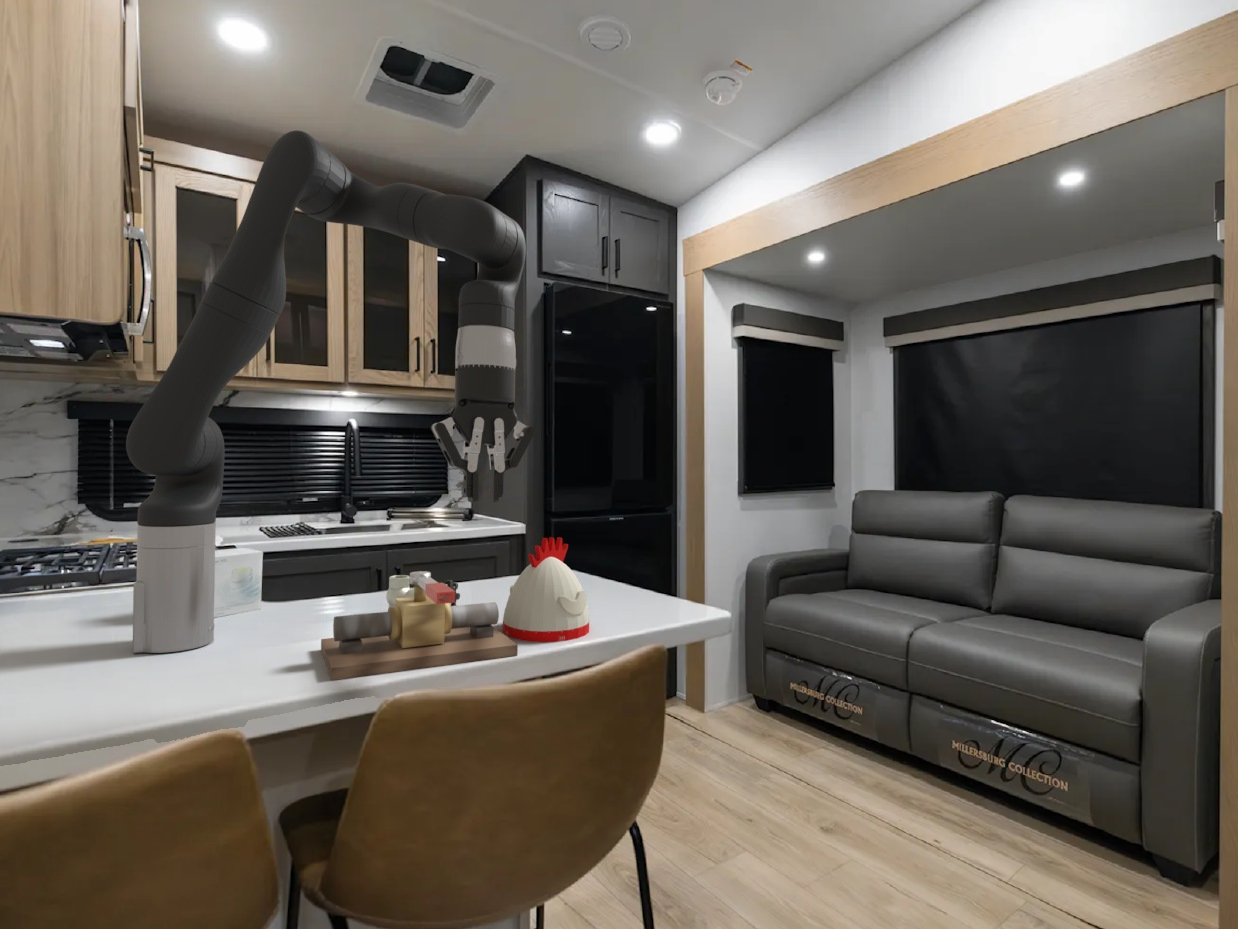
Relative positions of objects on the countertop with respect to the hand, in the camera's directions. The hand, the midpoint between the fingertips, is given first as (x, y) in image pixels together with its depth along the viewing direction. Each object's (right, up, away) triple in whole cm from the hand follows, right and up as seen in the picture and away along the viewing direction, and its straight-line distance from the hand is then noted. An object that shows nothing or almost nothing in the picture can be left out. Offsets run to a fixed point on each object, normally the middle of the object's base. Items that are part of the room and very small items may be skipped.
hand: (482, 501), depth 84 cm
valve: (-17, -22, +29) cm, 40 cm away
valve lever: (-7, -12, +3) cm, 14 cm away
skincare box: (-51, -21, +28) cm, 62 cm away
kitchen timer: (+6, -22, +22) cm, 32 cm away
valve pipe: (-11, -22, +8) cm, 26 cm away
